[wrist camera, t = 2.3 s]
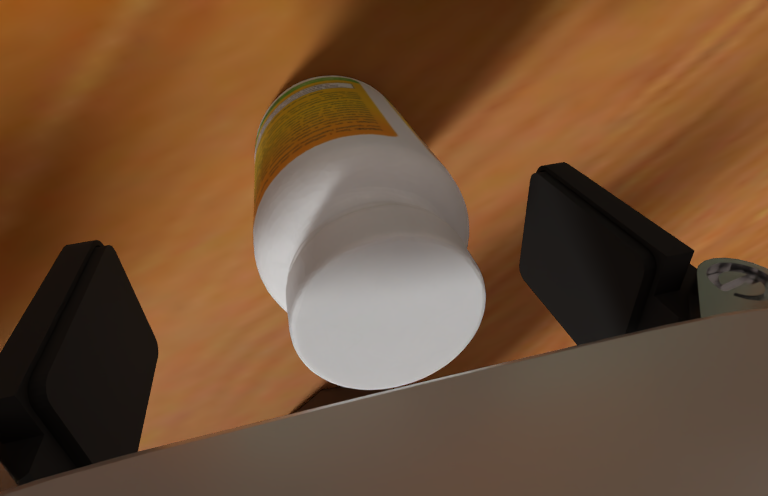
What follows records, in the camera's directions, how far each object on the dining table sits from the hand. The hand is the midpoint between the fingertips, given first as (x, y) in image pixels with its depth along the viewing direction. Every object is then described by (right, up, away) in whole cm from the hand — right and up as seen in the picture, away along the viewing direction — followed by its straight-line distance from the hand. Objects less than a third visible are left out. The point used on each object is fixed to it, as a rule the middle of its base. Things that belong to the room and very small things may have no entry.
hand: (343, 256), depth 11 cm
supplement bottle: (-1, +4, +7) cm, 8 cm away
